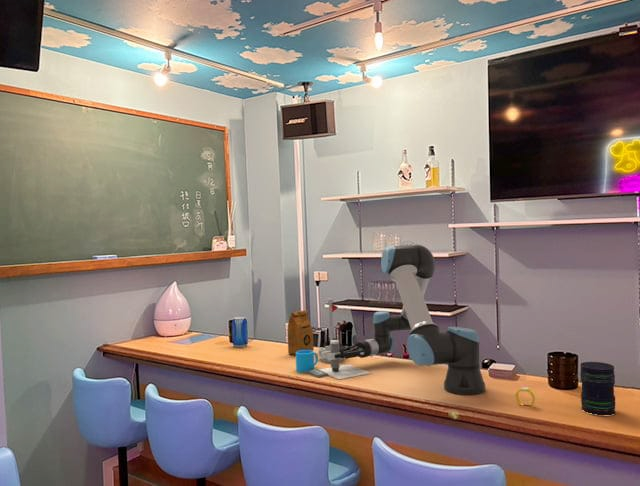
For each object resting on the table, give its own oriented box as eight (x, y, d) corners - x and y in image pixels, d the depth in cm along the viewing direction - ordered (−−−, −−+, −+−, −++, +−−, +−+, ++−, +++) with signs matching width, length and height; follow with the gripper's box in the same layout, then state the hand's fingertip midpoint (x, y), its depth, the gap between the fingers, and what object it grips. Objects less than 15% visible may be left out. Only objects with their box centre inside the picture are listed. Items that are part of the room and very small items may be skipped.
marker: (341, 370, 223) (340, 341, 223) (333, 372, 221) (333, 342, 221) (336, 368, 227) (336, 339, 226) (329, 370, 225) (328, 340, 225)
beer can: (246, 347, 281) (245, 318, 281) (231, 348, 281) (230, 319, 281) (249, 344, 290) (248, 316, 290) (234, 344, 290) (233, 316, 290)
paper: (370, 373, 220) (370, 372, 220) (338, 379, 212) (338, 378, 212) (347, 365, 235) (347, 364, 235) (317, 370, 228) (317, 369, 228)
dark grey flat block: (328, 375, 219) (328, 373, 219) (317, 377, 216) (317, 375, 216) (316, 370, 227) (316, 368, 227) (306, 372, 225) (306, 370, 225)
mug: (304, 373, 224) (304, 354, 224) (292, 370, 230) (291, 352, 230) (324, 368, 232) (323, 350, 232) (311, 365, 238) (311, 347, 238)
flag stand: (331, 364, 238) (329, 300, 238) (313, 359, 248) (311, 298, 248) (351, 359, 247) (349, 297, 247) (332, 355, 257) (331, 295, 257)
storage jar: (583, 414, 163) (581, 368, 163) (579, 405, 172) (578, 361, 172) (618, 417, 159) (617, 370, 159) (612, 407, 169) (611, 362, 169)
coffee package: (316, 352, 263) (315, 310, 263) (298, 357, 255) (296, 313, 255) (304, 350, 271) (302, 308, 271) (285, 354, 262) (284, 311, 262)
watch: (515, 405, 174) (513, 388, 175) (518, 403, 177) (516, 386, 177) (533, 407, 171) (531, 389, 171) (536, 405, 173) (534, 387, 173)
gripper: (378, 359, 227) (336, 368, 214) (355, 353, 241) (314, 361, 228) (378, 343, 227) (336, 351, 214) (354, 337, 241) (313, 344, 228)
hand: (324, 356), depth 221 cm, fingers closed on marker, 4 cm apart
